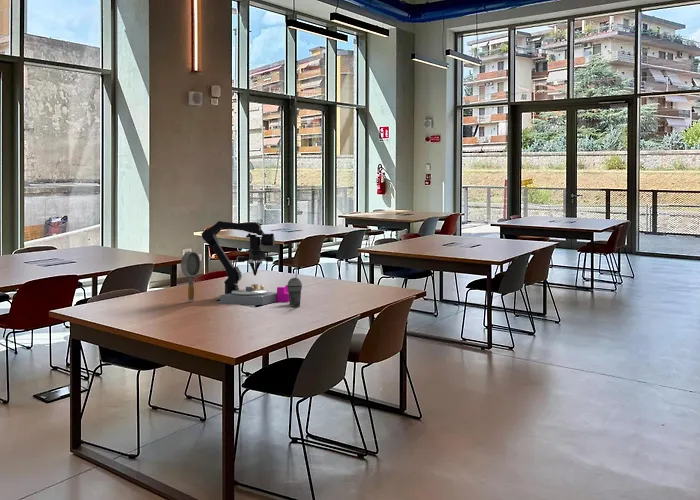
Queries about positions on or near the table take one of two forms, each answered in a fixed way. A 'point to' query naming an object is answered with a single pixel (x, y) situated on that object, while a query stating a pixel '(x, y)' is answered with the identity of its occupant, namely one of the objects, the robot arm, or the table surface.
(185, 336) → the table surface
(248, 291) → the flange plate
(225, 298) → the jig block
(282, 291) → the toy block
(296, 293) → the beverage cup
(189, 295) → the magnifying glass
